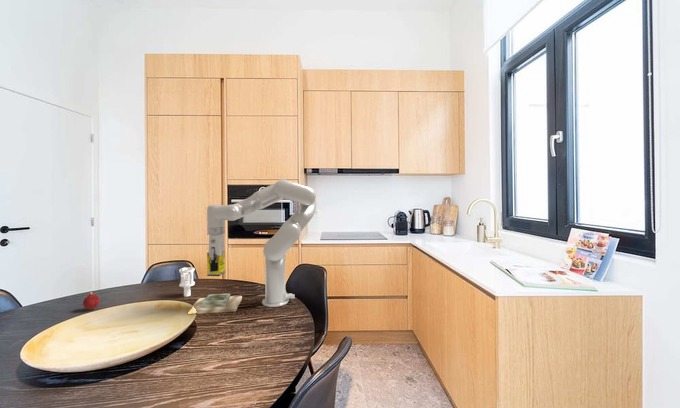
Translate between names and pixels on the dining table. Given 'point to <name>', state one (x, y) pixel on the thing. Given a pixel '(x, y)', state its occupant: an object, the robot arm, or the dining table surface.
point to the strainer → (186, 280)
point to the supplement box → (220, 265)
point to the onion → (91, 301)
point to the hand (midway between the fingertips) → (216, 268)
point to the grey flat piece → (217, 303)
